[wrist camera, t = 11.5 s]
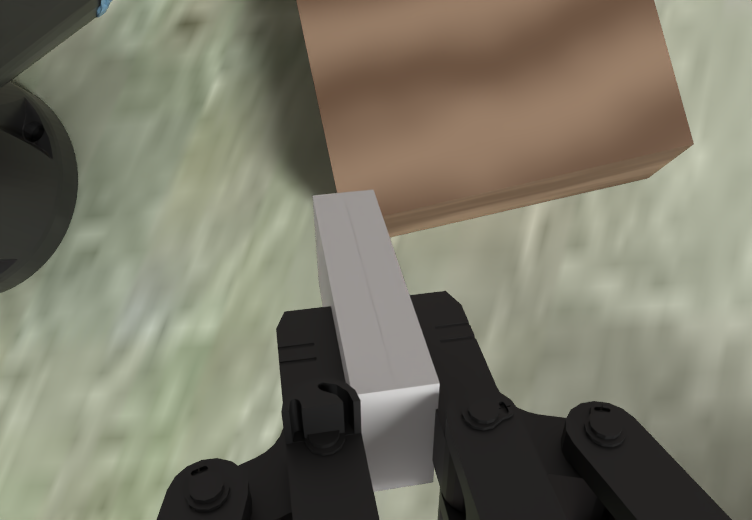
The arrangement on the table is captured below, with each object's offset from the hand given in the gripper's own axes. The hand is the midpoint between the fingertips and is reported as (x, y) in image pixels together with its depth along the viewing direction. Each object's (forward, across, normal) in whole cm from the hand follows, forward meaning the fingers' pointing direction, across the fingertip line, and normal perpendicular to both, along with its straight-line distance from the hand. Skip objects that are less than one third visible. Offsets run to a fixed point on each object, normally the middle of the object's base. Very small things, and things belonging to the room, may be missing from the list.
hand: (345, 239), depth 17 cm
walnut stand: (+29, +11, -4) cm, 32 cm away
